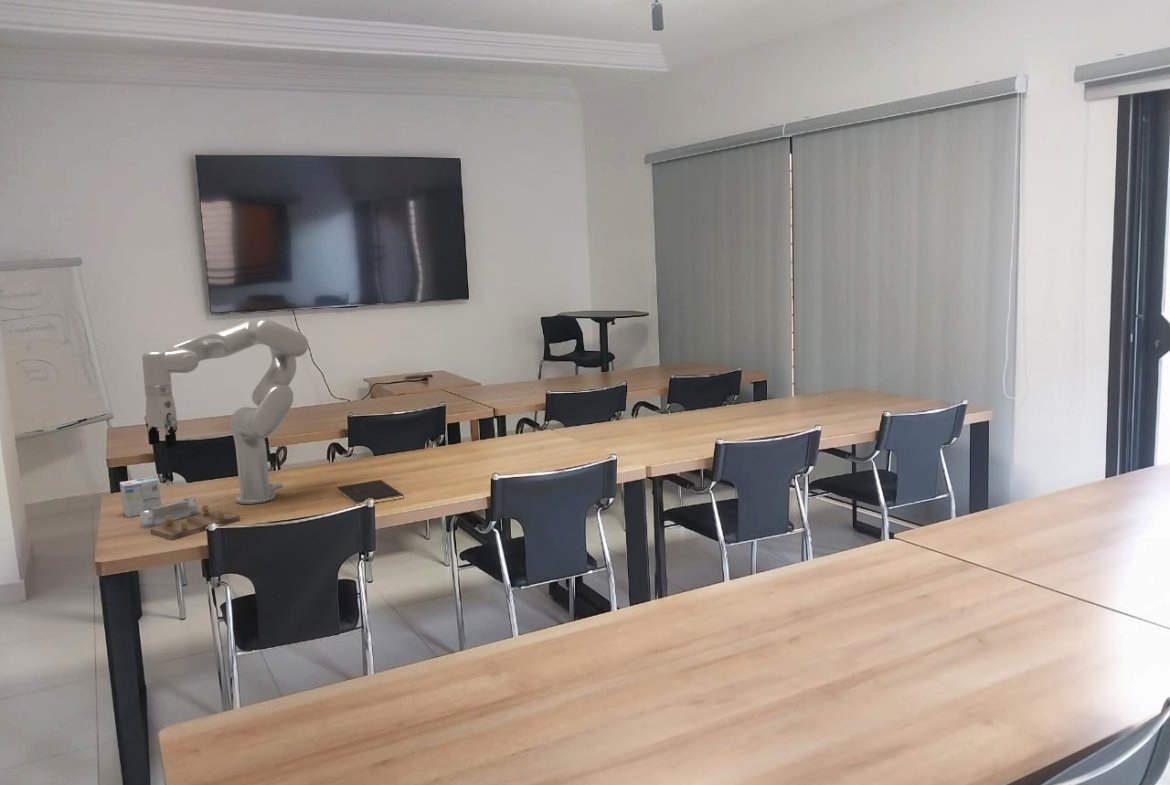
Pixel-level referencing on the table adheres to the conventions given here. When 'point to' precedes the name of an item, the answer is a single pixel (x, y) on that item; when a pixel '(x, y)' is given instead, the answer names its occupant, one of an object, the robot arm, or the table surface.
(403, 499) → the table surface
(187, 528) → the tool board
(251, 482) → the robot arm
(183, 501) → the silver dumbbell
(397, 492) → the hardcover book
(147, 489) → the light bulb box
